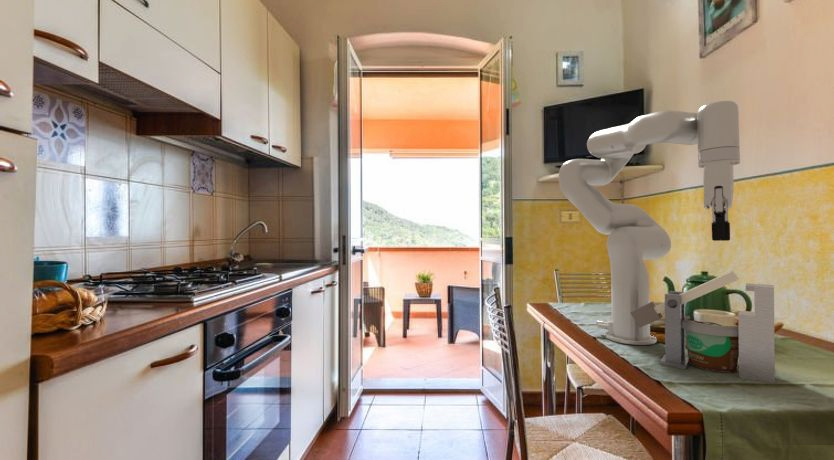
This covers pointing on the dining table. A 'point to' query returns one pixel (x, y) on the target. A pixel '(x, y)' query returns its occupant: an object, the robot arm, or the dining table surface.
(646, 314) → the beige long bar
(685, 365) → the hinge post
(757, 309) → the post
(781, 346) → the dining table surface
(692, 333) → the food container
